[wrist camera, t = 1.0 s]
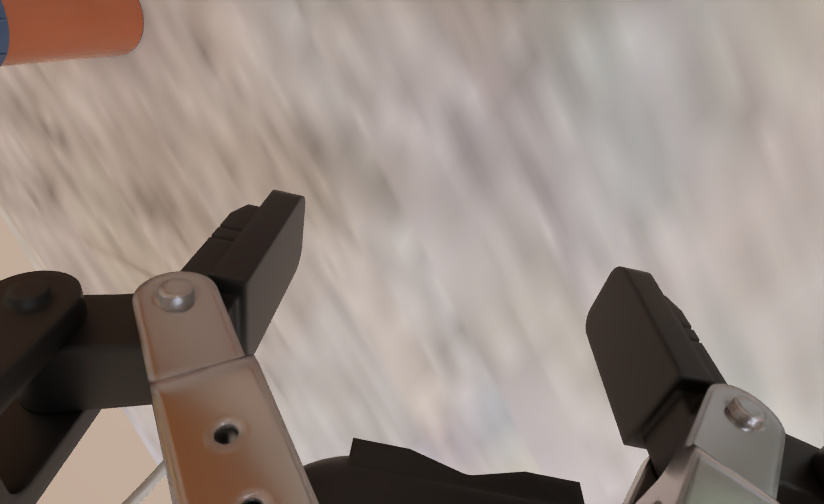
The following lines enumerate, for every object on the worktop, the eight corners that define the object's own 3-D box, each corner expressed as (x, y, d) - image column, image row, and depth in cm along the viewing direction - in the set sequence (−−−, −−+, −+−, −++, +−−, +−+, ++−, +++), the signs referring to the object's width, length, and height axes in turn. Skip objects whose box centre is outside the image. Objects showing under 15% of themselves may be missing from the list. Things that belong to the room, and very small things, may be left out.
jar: (68, -56, 27) (-173, -99, 17) (149, -14, 27) (-43, -32, 18) (63, 31, 29) (-150, 37, 20) (138, 69, 30) (-36, 94, 20)
